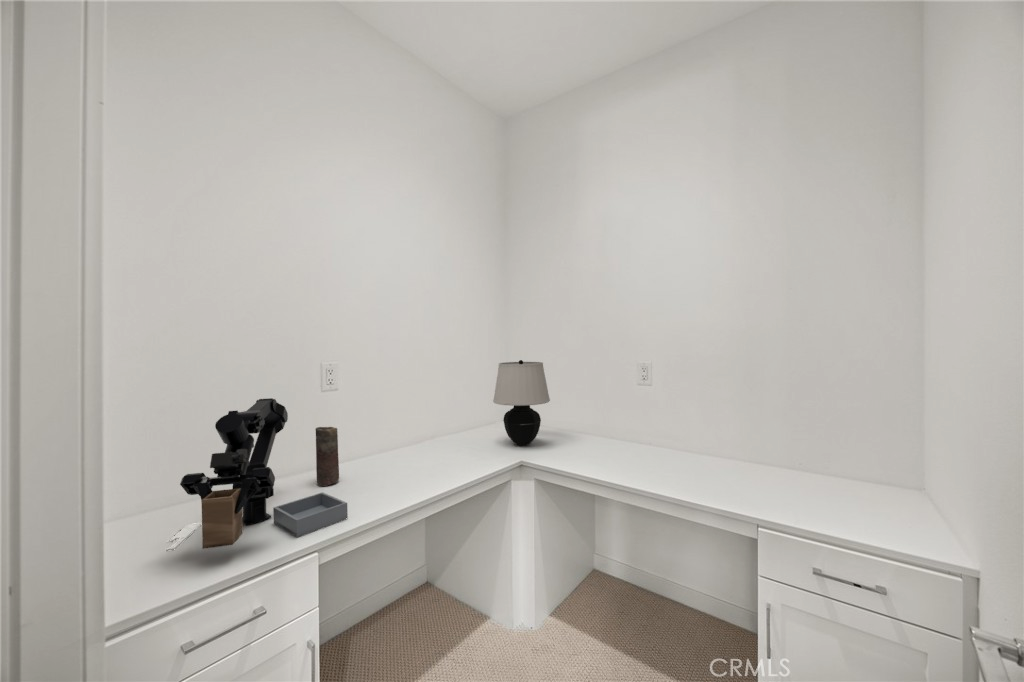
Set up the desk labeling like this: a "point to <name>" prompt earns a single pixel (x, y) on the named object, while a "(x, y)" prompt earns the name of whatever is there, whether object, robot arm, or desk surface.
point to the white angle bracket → (183, 535)
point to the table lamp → (521, 398)
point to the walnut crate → (221, 518)
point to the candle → (327, 456)
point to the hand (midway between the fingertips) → (220, 514)
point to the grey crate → (309, 514)
